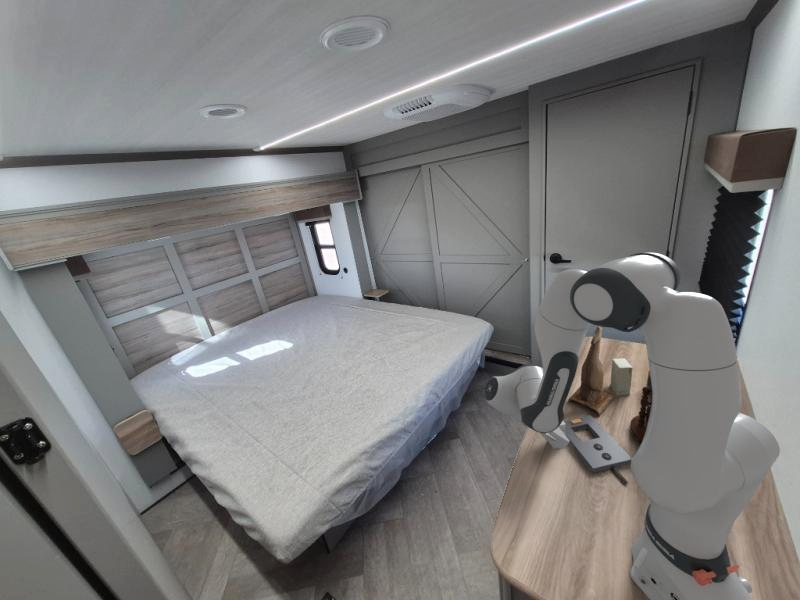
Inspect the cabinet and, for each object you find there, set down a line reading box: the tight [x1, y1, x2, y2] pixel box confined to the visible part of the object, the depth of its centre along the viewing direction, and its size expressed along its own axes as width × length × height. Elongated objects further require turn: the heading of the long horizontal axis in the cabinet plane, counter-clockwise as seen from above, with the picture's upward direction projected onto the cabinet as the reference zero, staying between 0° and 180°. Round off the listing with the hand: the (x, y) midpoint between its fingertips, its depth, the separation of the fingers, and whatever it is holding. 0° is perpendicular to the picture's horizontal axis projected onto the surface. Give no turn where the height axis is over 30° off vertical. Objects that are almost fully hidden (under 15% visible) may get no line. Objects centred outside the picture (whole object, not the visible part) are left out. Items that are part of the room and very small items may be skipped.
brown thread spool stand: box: [629, 384, 652, 445], centre depth 92 cm, size 15×15×20 cm
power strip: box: [563, 414, 633, 485], centre depth 95 cm, size 23×12×3 cm, turn 6°
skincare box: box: [609, 357, 634, 396], centre depth 114 cm, size 6×4×12 cm
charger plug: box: [548, 420, 566, 450], centre depth 98 cm, size 4×4×12 cm
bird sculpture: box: [567, 326, 613, 417], centre depth 108 cm, size 11×12×32 cm
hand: (557, 427), depth 98 cm, fingers open, 5 cm apart
